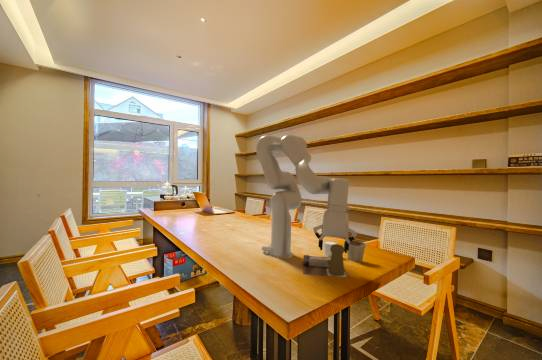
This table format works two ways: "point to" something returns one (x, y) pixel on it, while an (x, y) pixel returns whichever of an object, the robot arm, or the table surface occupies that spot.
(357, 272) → the table surface
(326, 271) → the board
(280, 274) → the table surface
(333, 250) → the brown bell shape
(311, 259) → the jaw
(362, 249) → the flower pot
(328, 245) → the shot glass
